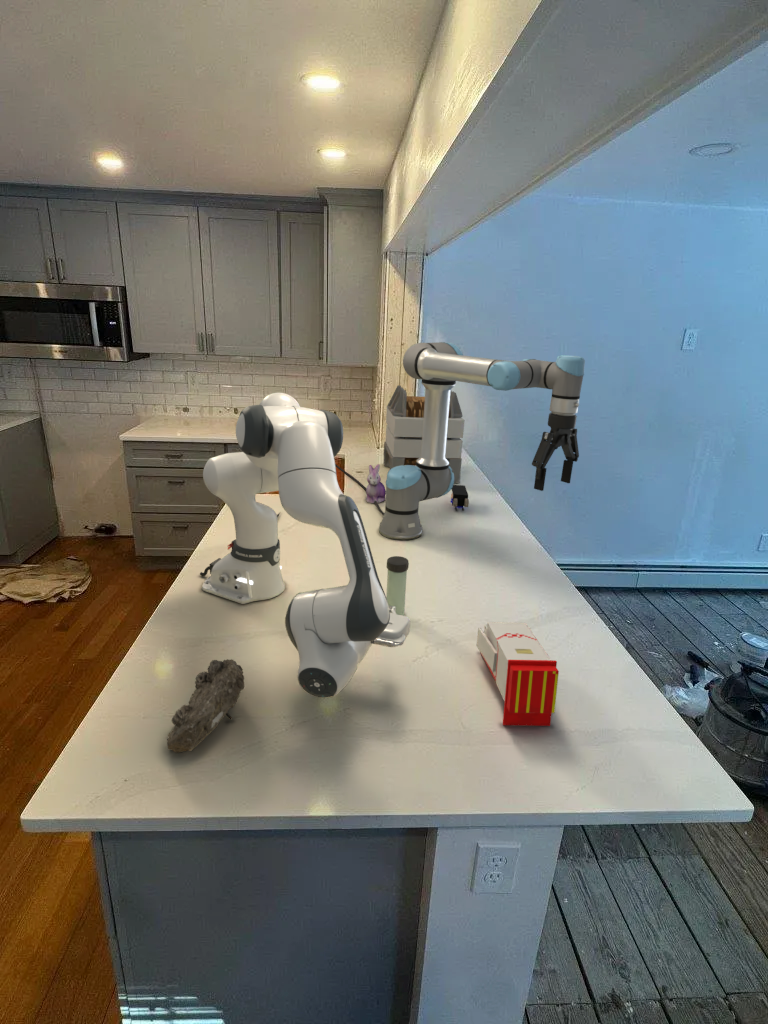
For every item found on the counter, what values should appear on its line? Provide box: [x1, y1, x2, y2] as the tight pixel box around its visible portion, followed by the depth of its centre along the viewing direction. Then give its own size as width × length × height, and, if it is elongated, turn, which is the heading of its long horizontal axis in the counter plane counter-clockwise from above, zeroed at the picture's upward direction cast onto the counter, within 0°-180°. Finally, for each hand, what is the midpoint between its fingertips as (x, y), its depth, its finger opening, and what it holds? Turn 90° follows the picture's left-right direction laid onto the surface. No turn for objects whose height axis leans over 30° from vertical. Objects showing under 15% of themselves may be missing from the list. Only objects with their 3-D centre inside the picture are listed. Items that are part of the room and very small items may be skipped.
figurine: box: [365, 463, 386, 504], centre depth 231 cm, size 9×10×15 cm
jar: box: [386, 569, 408, 616], centre depth 145 cm, size 5×5×15 cm
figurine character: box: [449, 484, 470, 512], centre depth 229 cm, size 7×8×15 cm
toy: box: [476, 621, 560, 727], centre depth 120 cm, size 12×13×30 cm
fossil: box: [166, 658, 245, 754], centre depth 106 cm, size 22×10×15 cm
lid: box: [386, 555, 409, 572], centre depth 142 cm, size 6×6×2 cm
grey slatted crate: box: [383, 384, 465, 484], centre depth 268 cm, size 34×33×41 cm
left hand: (371, 605), depth 123 cm, fingers open, 8 cm apart
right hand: (552, 485), depth 166 cm, fingers open, 13 cm apart
